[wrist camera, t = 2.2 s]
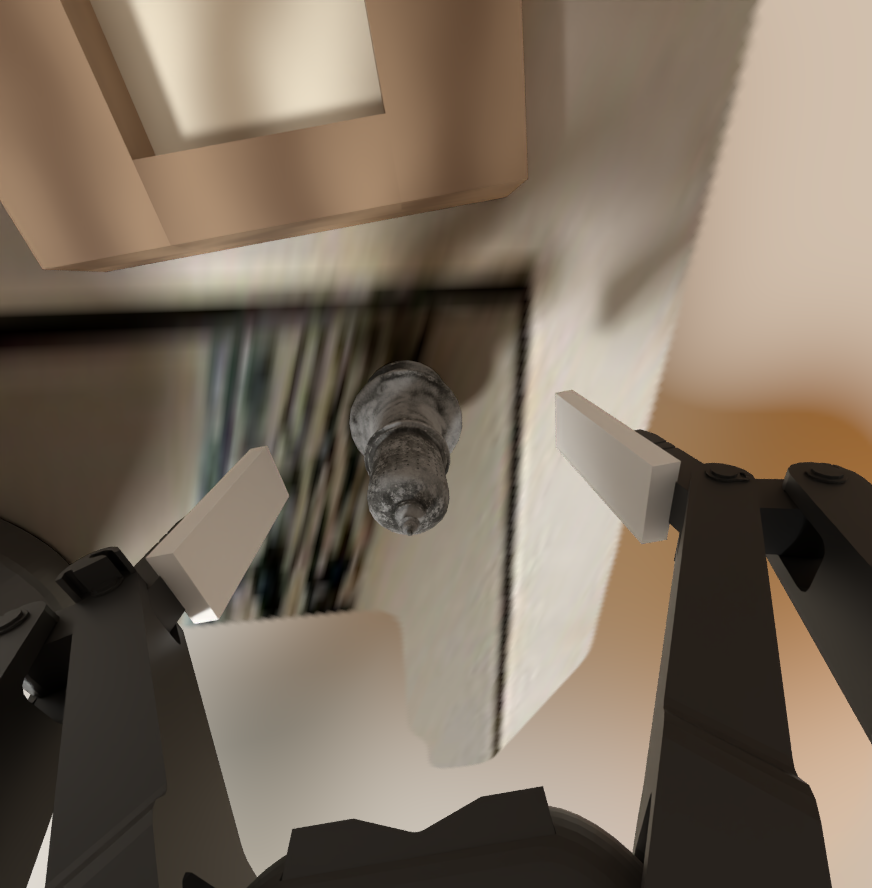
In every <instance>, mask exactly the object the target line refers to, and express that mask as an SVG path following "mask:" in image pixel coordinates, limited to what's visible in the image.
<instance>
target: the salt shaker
mask: <svg viewBox="0 0 872 888" xmlns="http://www.w3.org/2000/svg"><path fill="white" fill-rule="evenodd" d="M350 429H351V434H352V438H353V440H354V442H355V444H356V446H357V448H358V450H359V451H360V452H361V453H362V454H363V455H364V461H365V467H366V470H367V472H368V474H369V476H370V481H369V487H368V494H367V499H368V505H369V509H370V512H371V514H372V516H373V517H374V519H375V520H376V521H377V522H378V523H379V524H380V525H381V526H383V527H385V528H386V529H388V530H390V531H392V532H395V533H398V534H404V535H409V536H411V535H413V534H419V533H422V532H426V531H427V530H429V529H431V528H433V527H434V526H436V525H437V524H438V523H439V522H440V521H441V520H442V519H443V517H444V515H445V514H446V512H447V508H448V504H449V488H448V484H447V479H446V474H447V472H448V469H449V465H450V453H451V452H452V451H453V449H454V448H455V446H456V444H457V443H458V441H459V438H460V434H461V430H462V413H461V409H460V406H459V403H458V400H457V399H456V397H455V395H454V394H453V392H452V391H451V389H450V388H449V387H448V386H447V385H445V384H444V382H443V381H442V379H441V378H440V376H439V375H438V374H437V373H436V372H435V371H433V370H432V369H431V368H430V367H428V366H426V365H424V364H422V363H419V362H414V361H409V360H406V361H396V362H393V363H390V364H387V365H385V366H383V367H382V368H380V369H379V370H377V371H376V372H375V373H374V374H373V376H372V377H371V378H370V379H369V381H368V383H367V384H366V385H365V386H364V387H363V388H362V390H361V391H360V392H359V393H358V395H357V396H356V399H355V401H354V403H353V406H352V408H351V414H350Z"/></svg>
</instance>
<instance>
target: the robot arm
mask: <svg viewBox="0 0 872 888" xmlns="http://www.w3.org/2000/svg"><path fill="white" fill-rule="evenodd" d="M555 418H556V448H557V449H558V450H559V452H560V453H561V454H562V455H563V456H564V457H565V458H566V459H567V461H568V462H569V463H570V464H571V465H572V466H573V467H574V468H575V470H576V471H577V472H578V473H579V474H580V475H581V476H582V477H583V479H584V480H585V481H586V482H587V483H588V484H589V485H590V486H591V488H592V489H593V490H594V491H595V492H596V493H597V494H598V495H599V497H600V498H601V499H602V500H603V501H604V502H605V503H606V504H607V506H608V507H609V508H610V509H611V510H612V511H613V512H614V514H615V515H616V516H617V517H618V518H619V519H620V520H621V521H622V523H623V524H624V525H625V526H626V527H627V528H628V529H629V530H630V532H631V533H632V534H633V535H634V536H635V537H636V538H637V539H638V541H639V542H640V543H641V544H645V543H651V542H656V541H662V540H667V535H668V530H669V524H671V525H672V526H673V527H674V528H675V529H676V530H677V531H679V538H678V543H677V548H676V554H675V558H674V561H675V565H674V572H673V579H672V587H671V594H670V601H669V608H668V615H667V622H666V629H665V637H664V644H663V651H662V658H661V665H660V672H659V679H658V686H657V693H656V701H655V708H654V715H653V722H652V729H651V736H650V743H649V750H648V758H647V765H646V772H645V779H644V786H643V792H642V798H641V803H640V809H639V814H638V821H637V827H636V833H635V840H634V847H633V853H632V852H630V851H629V850H628V849H627V848H626V847H625V846H624V845H622V844H621V843H620V842H619V841H618V840H617V839H615V838H614V837H613V836H611V835H610V834H609V833H607V832H606V831H605V830H603V829H602V828H600V827H599V826H597V825H596V824H594V823H592V822H590V821H589V820H587V819H585V818H583V817H581V816H579V815H577V814H574V813H572V812H569V811H567V810H564V809H561V808H556V807H552V806H548V803H547V800H546V796H545V792H544V789H543V786H542V787H536V788H530V789H525V790H518V791H513V792H506V793H501V794H495V795H489V796H483V797H480V798H478V799H477V800H475V801H473V802H471V803H470V804H468V805H466V806H464V807H463V808H461V809H459V810H458V811H456V812H454V813H452V814H451V815H449V816H447V817H446V818H444V819H442V820H440V821H438V822H437V823H435V824H433V825H432V826H430V827H428V828H427V829H425V830H423V831H420V832H408V831H404V830H400V829H396V828H391V827H387V826H382V825H378V824H374V823H369V822H365V821H361V820H357V819H349V820H343V821H337V822H331V823H325V824H319V825H313V826H308V827H302V828H296V829H292V833H291V838H290V843H289V847H288V852H287V855H285V856H284V857H282V858H281V859H279V860H278V861H277V862H275V863H274V864H273V865H271V866H270V867H268V868H267V869H266V870H265V871H264V872H263V873H262V874H260V875H259V876H258V877H256V875H255V873H254V872H253V870H252V868H251V866H250V865H249V863H248V861H247V859H246V857H245V854H244V852H243V848H242V846H241V842H240V838H239V835H238V831H237V827H236V824H235V820H234V816H233V813H232V809H231V805H230V801H229V798H228V794H227V791H226V787H225V783H224V779H223V776H222V772H221V768H220V765H219V761H218V757H217V754H216V750H215V746H214V743H213V739H212V735H211V732H210V728H209V724H208V720H207V717H206V713H205V709H204V706H203V702H202V698H201V695H200V691H199V687H198V684H197V680H196V676H195V673H194V669H193V665H192V662H191V658H190V655H189V651H188V647H187V643H186V640H185V636H184V632H183V630H182V628H181V627H180V626H179V625H178V623H177V621H178V620H179V618H180V617H181V615H182V614H183V613H184V611H185V612H186V613H187V615H188V616H189V617H190V619H191V620H192V621H193V623H194V624H196V623H202V622H208V621H213V620H219V618H220V616H221V615H222V613H223V611H224V609H225V608H226V606H227V604H228V602H229V601H230V599H231V597H232V595H233V594H234V592H235V590H236V588H237V587H238V585H239V583H240V581H241V580H242V578H243V576H244V574H245V573H246V571H247V569H248V567H249V566H250V564H251V562H252V560H253V558H254V557H255V555H256V553H257V551H258V550H259V548H260V546H261V544H262V543H263V541H264V539H265V537H266V536H267V534H268V532H269V530H270V529H271V527H272V525H273V523H274V522H275V520H276V518H277V516H278V515H279V513H280V511H281V509H282V508H283V506H284V504H285V502H286V501H287V499H288V497H289V494H288V492H287V490H286V487H285V485H284V483H283V481H282V478H281V476H280V474H279V472H278V469H277V467H276V465H275V462H274V460H273V458H272V456H271V453H270V451H269V449H268V447H267V446H264V447H258V448H253V449H250V450H249V451H248V452H247V453H246V454H245V455H244V456H243V457H242V458H241V459H240V460H239V461H238V462H237V463H236V465H235V466H234V467H233V468H232V469H231V470H230V471H229V472H228V473H227V474H226V475H225V476H224V477H223V478H222V479H221V480H220V481H219V482H218V483H217V484H216V485H215V486H214V487H213V488H212V489H211V490H210V491H209V493H208V494H207V495H206V496H205V497H204V498H203V499H202V500H201V501H200V502H199V503H198V504H197V505H196V506H195V507H194V508H193V509H192V510H191V511H190V512H189V513H188V514H187V515H186V516H185V517H184V518H182V519H181V520H180V521H178V522H177V523H176V524H175V525H174V526H173V527H172V528H171V529H170V530H169V531H168V534H165V535H164V536H163V537H162V538H161V539H160V540H159V543H157V544H156V545H155V546H154V547H153V548H152V549H151V550H150V551H149V552H148V553H147V554H146V555H145V556H144V557H143V558H142V559H141V560H140V561H139V562H138V563H137V564H136V565H135V566H134V567H133V566H132V564H131V563H130V562H129V561H128V559H127V558H126V557H125V555H124V554H123V553H122V552H121V550H120V549H119V548H118V547H108V548H104V549H100V550H98V551H95V552H93V553H90V554H88V555H86V556H85V557H83V558H81V559H79V560H77V561H76V562H74V563H73V564H71V565H69V564H68V563H67V562H66V561H65V560H64V559H63V558H62V557H61V556H60V555H59V554H58V553H56V552H55V551H54V550H53V549H51V548H50V547H49V546H47V545H46V544H45V543H43V542H42V541H40V540H39V539H37V538H36V537H34V536H32V535H31V534H29V533H27V532H26V531H24V530H22V529H20V528H18V527H16V526H14V525H12V524H10V523H8V522H6V521H4V520H1V519H0V888H26V887H27V884H28V881H29V878H30V876H31V873H32V870H33V867H34V864H35V862H36V859H37V856H38V853H39V850H40V848H41V845H42V842H43V839H44V836H45V833H46V831H47V828H48V825H49V822H50V819H51V817H52V814H53V818H52V819H53V820H52V827H51V837H50V846H49V856H48V864H47V874H46V883H45V888H832V886H831V880H830V873H829V867H828V861H827V855H826V849H825V843H824V837H823V831H822V825H821V820H820V816H819V811H818V807H817V803H816V799H815V797H814V795H813V793H812V791H811V788H810V786H809V785H808V784H807V783H805V782H804V781H803V780H801V779H800V778H799V777H798V775H797V773H796V771H795V768H794V763H793V758H792V751H791V743H790V735H789V728H788V721H787V713H786V705H785V697H784V690H783V682H782V675H781V667H780V660H779V652H778V644H777V637H776V629H775V622H774V614H773V607H772V599H771V591H770V583H769V576H768V569H767V561H766V557H767V559H768V561H769V562H770V564H771V566H772V568H773V569H774V571H775V573H776V575H777V577H778V578H779V580H780V582H781V584H782V585H783V587H784V589H785V591H786V593H787V594H788V596H789V598H790V600H791V601H792V603H793V605H794V607H795V608H796V610H797V612H798V614H799V616H800V617H801V619H802V621H803V623H804V625H805V626H806V628H807V630H808V631H809V633H810V635H811V637H812V639H813V641H814V642H815V644H816V646H817V648H818V649H819V651H820V653H821V655H822V656H823V658H824V660H825V662H826V664H827V665H828V667H829V669H830V671H831V673H832V674H833V676H834V678H835V680H836V681H837V683H838V685H839V687H840V689H841V690H842V692H843V694H844V695H845V697H846V699H847V701H848V703H849V705H850V706H851V708H852V710H853V712H854V713H855V715H856V717H857V719H858V721H859V722H860V724H861V726H862V728H863V729H864V731H865V733H866V735H867V737H868V738H869V740H870V742H871V744H872V485H871V484H870V483H869V482H868V481H867V480H866V479H864V478H863V477H862V476H860V475H858V474H856V473H855V472H853V471H850V470H847V469H845V468H842V467H840V466H837V465H831V464H827V463H814V462H804V463H797V464H793V465H791V466H790V467H789V468H788V470H787V473H786V476H785V479H755V478H754V477H753V475H752V474H750V473H749V472H747V471H745V470H743V469H741V468H738V467H735V466H731V465H726V464H720V463H706V464H703V463H702V462H700V461H698V460H697V459H695V458H693V457H692V456H690V455H688V454H687V453H685V452H684V451H682V450H680V449H679V448H675V446H674V445H672V444H671V443H669V442H666V440H664V439H663V438H661V437H659V436H658V435H656V434H653V433H650V432H647V431H644V430H641V429H640V430H633V429H631V428H629V427H628V426H626V425H625V424H623V423H622V422H620V421H619V420H617V419H616V418H614V417H613V416H611V415H610V414H608V413H607V412H605V411H604V410H602V409H601V408H599V407H598V406H596V405H594V404H593V403H591V402H590V401H588V400H587V399H585V398H584V397H582V396H581V395H579V394H578V393H576V392H575V391H573V390H569V391H563V392H558V393H555ZM23 689H25V690H26V691H27V692H28V693H30V694H31V695H30V697H29V699H28V700H27V698H26V697H25V695H24V694H23Z"/></svg>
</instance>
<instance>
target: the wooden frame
mask: <svg viewBox="0 0 872 888" xmlns="http://www.w3.org/2000/svg"><path fill="white" fill-rule="evenodd" d="M527 179H528V164H527V136H526V108H525V80H524V52H523V24H522V0H0V201H1V203H2V204H3V206H4V208H5V209H6V211H7V213H8V214H9V216H10V217H11V219H12V221H13V222H14V224H15V226H16V227H17V229H18V230H19V232H20V234H21V235H22V237H23V239H24V240H25V242H26V243H27V245H28V247H29V248H30V250H31V251H32V253H33V255H34V256H35V258H36V260H37V261H38V263H39V264H40V266H41V268H42V269H43V270H70V271H96V272H108V271H113V270H119V269H124V268H129V267H135V266H140V265H145V264H151V263H156V262H161V261H167V260H172V259H177V258H183V257H188V256H194V255H199V254H204V253H210V252H215V251H220V250H226V249H231V248H236V247H242V246H247V245H252V244H258V243H263V242H268V241H274V240H279V239H284V238H290V237H295V236H301V235H306V234H311V233H317V232H322V231H327V230H333V229H338V228H343V227H349V226H354V225H359V224H365V223H370V222H375V221H381V220H386V219H391V218H397V217H402V216H408V215H413V214H418V213H424V212H429V211H434V210H440V209H445V208H450V207H456V206H461V205H466V204H472V203H477V202H482V201H488V200H493V199H498V198H504V197H507V196H508V195H509V194H511V193H512V192H513V191H514V190H515V189H516V188H518V187H519V186H520V185H521V184H522V183H524V182H525V181H526V180H527Z"/></svg>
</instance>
